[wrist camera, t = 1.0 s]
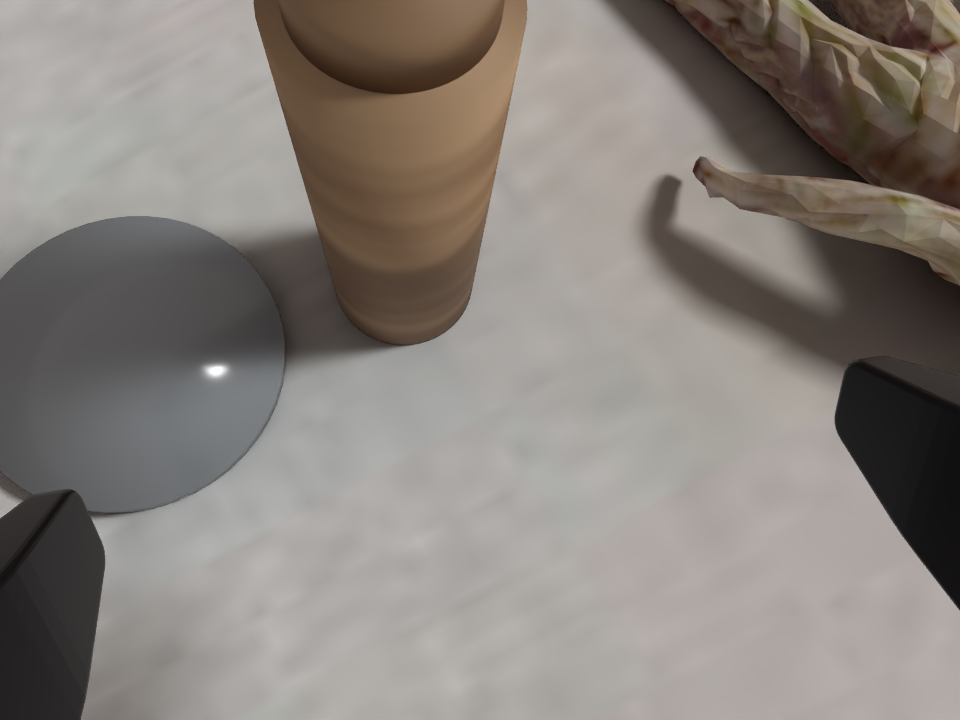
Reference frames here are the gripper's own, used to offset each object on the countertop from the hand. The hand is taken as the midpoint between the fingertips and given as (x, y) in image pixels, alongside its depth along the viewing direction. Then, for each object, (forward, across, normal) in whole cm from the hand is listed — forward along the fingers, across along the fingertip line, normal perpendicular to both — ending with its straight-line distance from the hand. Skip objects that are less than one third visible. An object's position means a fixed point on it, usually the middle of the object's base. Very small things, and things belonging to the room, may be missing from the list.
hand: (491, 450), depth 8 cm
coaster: (+14, +8, +5) cm, 17 cm away
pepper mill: (+15, 0, +4) cm, 15 cm away
